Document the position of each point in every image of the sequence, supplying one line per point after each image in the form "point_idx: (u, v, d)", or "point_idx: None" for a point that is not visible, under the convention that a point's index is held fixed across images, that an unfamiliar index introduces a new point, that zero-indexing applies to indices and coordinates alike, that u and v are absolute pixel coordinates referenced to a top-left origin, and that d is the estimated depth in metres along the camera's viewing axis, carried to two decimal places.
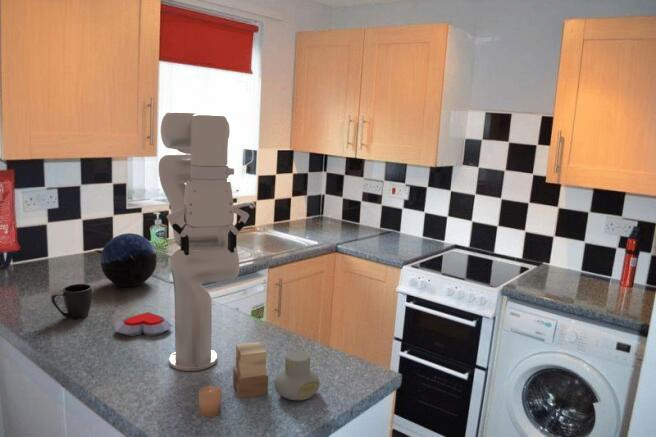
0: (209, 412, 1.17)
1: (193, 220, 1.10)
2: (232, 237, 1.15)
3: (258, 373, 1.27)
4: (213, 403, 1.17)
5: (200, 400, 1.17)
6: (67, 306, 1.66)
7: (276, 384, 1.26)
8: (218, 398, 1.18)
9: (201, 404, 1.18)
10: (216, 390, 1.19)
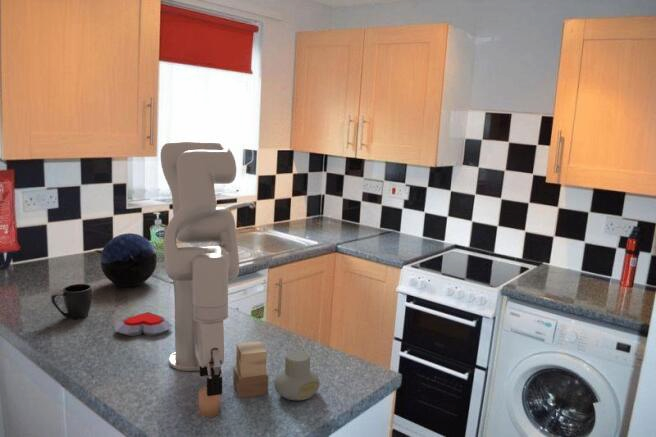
0: (209, 412, 1.17)
1: None
2: None
3: (258, 373, 1.27)
4: (213, 402, 1.17)
5: (200, 400, 1.17)
6: (67, 306, 1.66)
7: (276, 384, 1.26)
8: (217, 397, 1.18)
9: (200, 404, 1.18)
10: None
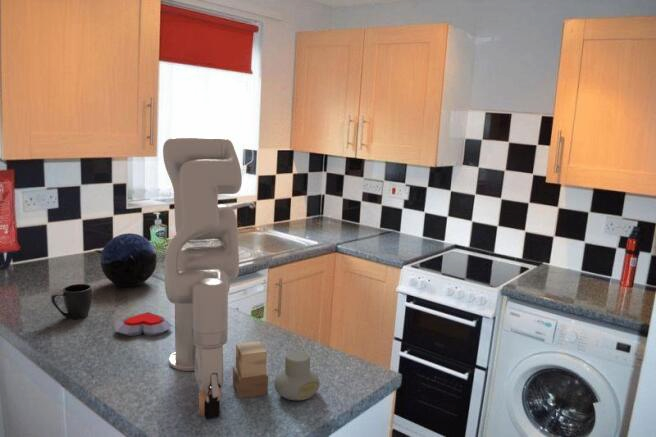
0: None
1: None
2: None
3: (258, 373, 1.27)
4: None
5: (200, 400, 1.17)
6: (67, 306, 1.66)
7: (276, 384, 1.26)
8: None
9: (200, 404, 1.18)
10: None
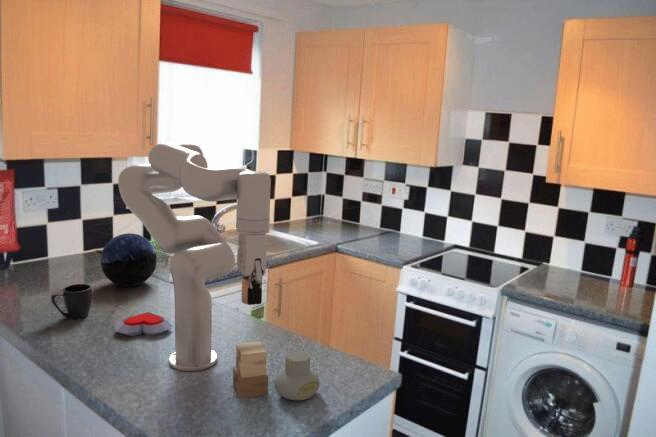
0: None
1: None
2: None
3: (258, 373, 1.27)
4: None
5: (243, 288, 1.23)
6: (67, 306, 1.66)
7: (276, 384, 1.26)
8: None
9: (244, 292, 1.24)
10: None
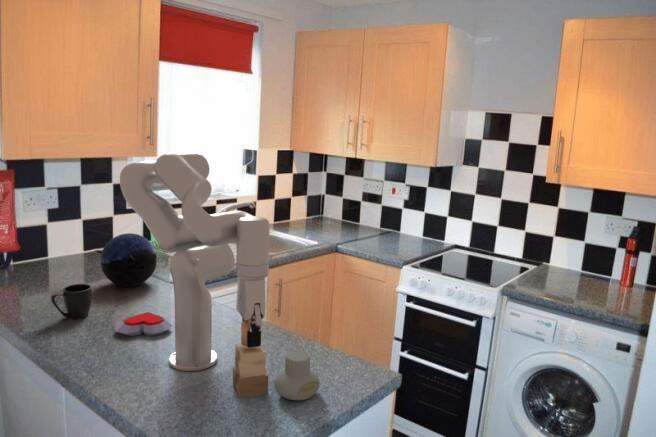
0: None
1: None
2: None
3: (258, 373, 1.27)
4: None
5: (243, 330, 1.26)
6: (67, 306, 1.66)
7: (276, 384, 1.26)
8: None
9: (243, 334, 1.26)
10: None
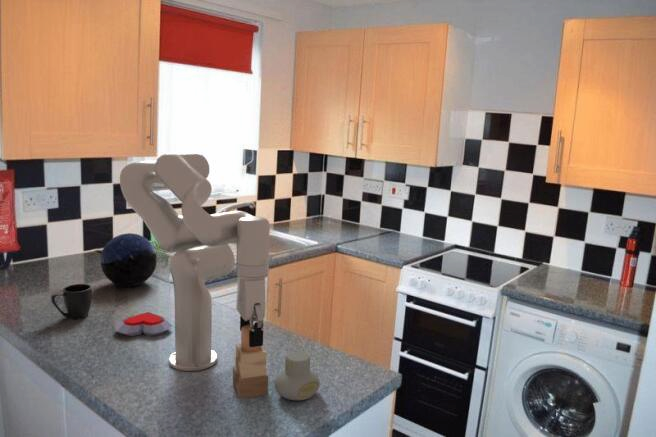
0: (251, 347, 1.26)
1: None
2: None
3: (258, 373, 1.27)
4: None
5: (243, 336, 1.26)
6: (67, 306, 1.66)
7: (276, 384, 1.26)
8: None
9: (243, 340, 1.26)
10: None
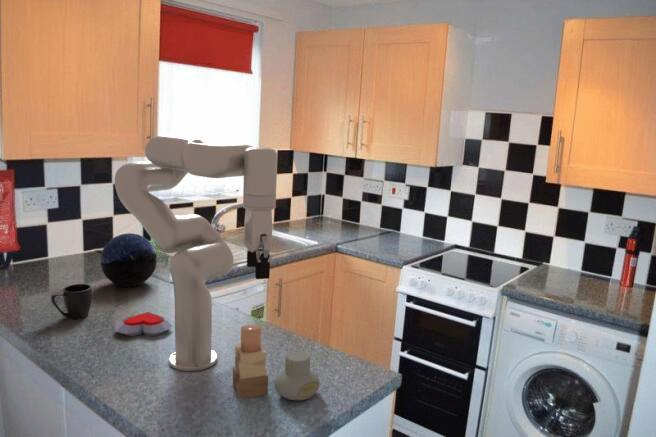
0: (251, 347, 1.26)
1: None
2: None
3: (258, 373, 1.27)
4: (255, 338, 1.26)
5: (243, 336, 1.26)
6: (67, 306, 1.66)
7: (276, 384, 1.26)
8: (259, 334, 1.26)
9: (243, 340, 1.26)
10: (257, 328, 1.28)
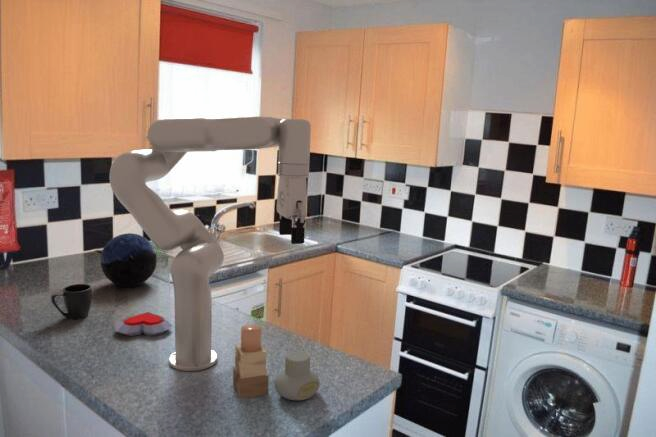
0: (252, 347, 1.26)
1: None
2: (291, 221, 1.36)
3: (258, 373, 1.27)
4: (255, 338, 1.26)
5: (243, 336, 1.26)
6: (67, 306, 1.66)
7: (276, 384, 1.26)
8: (259, 334, 1.26)
9: (243, 340, 1.26)
10: (257, 327, 1.28)
